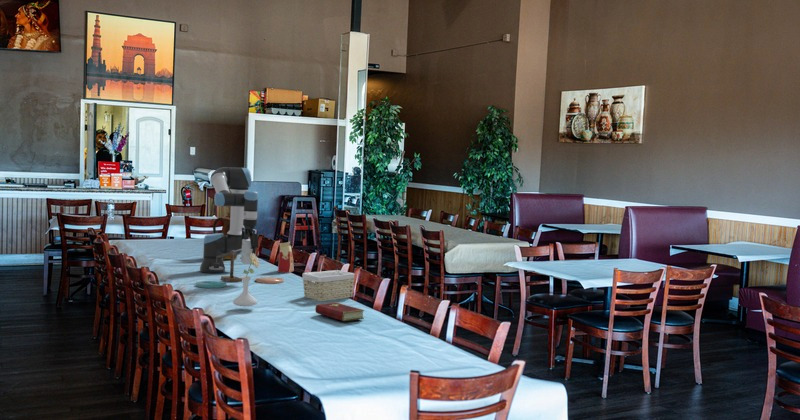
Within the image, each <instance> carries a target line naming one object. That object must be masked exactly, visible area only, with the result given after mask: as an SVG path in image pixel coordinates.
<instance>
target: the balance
mask: <svg viewBox="0 0 800 420" xmlns="http://www.w3.org/2000/svg"><path fill="white" fill-rule="evenodd" d="M239 251H242V249H239V250H236V251H234V250H231V251H230V252H229V253H226V254H223V255H219V256H216V263H214V267H209V269H211V270H223V269H224V267H219V263H217V258H220V257H223V256H226V255H230V254H231V260H230V271H229V273H230V274H229V275H222V276H220V280H223V281H226V282H229V283H236V282H237V283H239V282H243V280H242V278H241V277H239V276H234V270H235V269H234V267H235V265H234V264H235V259H234V254H235V253H236V252H239ZM240 260H241V257H240Z"/></svg>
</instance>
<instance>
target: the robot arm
mask: <svg viewBox="0 0 800 420" xmlns="http://www.w3.org/2000/svg"><path fill="white" fill-rule="evenodd" d="M210 183H211V185H212V187H214V190H215V193H214V197H213V198H214V201H213V202H214V205H215V206H217V207H230V217H229V218H230V230H229V231H228V232H227V236H224V234H223V233H221V232H219V233H217V232H216V234H214V233H210V234H206V235H205V236H204V238H203V253H202V254H203V257H202V258H203V259H202V262H201V263H200V267H199V272H200V273H204V274H206V273H207V274H219V273H220V274H221V273H225V272H226V267H225V263H224V260H223V257H220V258H217V263H219V267H224V269H223V270H211V269H209V267H214V263H216V256H219V255H223V254H226V253H229V252H230V251H231V250H234V251H236V250H239V249H242V239H250V241H251V253H252V254H253V253H254V254H255V256H257V248H259V238H258V229H255V227H257V226H258V204H259V203H258V202H259V192H258V191H254V190H249V188H251V187H252V175H251V171H250V169H249V168H247V167H232V166H231V167H229V166H223V167H219V168H216V169H215V170H214V171H213V172H212V173H211V174H210ZM241 254H242V251H239V252H236V253H235V254H234V255H237V256H239V255H240V256H241ZM230 255H231V254H230Z"/></svg>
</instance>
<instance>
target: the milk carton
mask: <svg viewBox="0 0 800 420" xmlns="http://www.w3.org/2000/svg"><path fill="white" fill-rule="evenodd" d="M278 244H279V254H278V266H277V273H278V272H285V274H290V273H292V272H294V271H295V269H294V257H293V251H292V246H291V241H288V242H287V241H286V242H279V243H278ZM287 272H288V273H287Z"/></svg>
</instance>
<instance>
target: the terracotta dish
mask: <svg viewBox="0 0 800 420" xmlns="http://www.w3.org/2000/svg"><path fill="white" fill-rule="evenodd" d="M284 280H285V279H284V278H282V277H275V276H271V277H270V276H269V277H268V276H264V277H263V276H262V277H261V276H260V277H256V278H255V282H256V283H259V284H270V285H272V284H273V285H274V284H282V283H284V282H285V281H284Z"/></svg>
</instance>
